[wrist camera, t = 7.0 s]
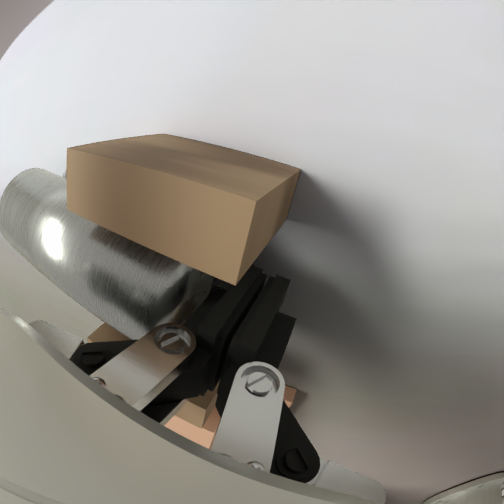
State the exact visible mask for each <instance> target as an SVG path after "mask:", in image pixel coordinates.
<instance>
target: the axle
mask: <svg viewBox="0 0 504 504" xmlns="http://www.w3.org/2000/svg"><path fill="white" fill-rule="evenodd" d="M0 230H1V233H2V235H3V236H4V238H5V239H6V240H7V241H8V242H9V243H10V244H11V245H12V246H13V247H14V248H15V249H16V250H17V251H18V252H19V253H20V254H21V255H22V256H23V257H24V258H25V259H26V260H27V261H28V262H29V263H30V264H32V265H33V266H34V267H35V268H36V269H37V270H38V271H39V272H41V273H42V274H43V275H44V276H45V277H46V278H48V279H49V280H50V281H51V282H52V283H53V284H55V285H56V286H57V287H58V288H60V289H61V290H62V291H63V292H65V293H66V294H67V295H68V296H70V297H71V298H72V299H73V300H75V301H76V302H77V303H79V304H80V305H81V306H83V307H84V308H85V309H87V310H88V311H89V312H91V313H92V314H94V315H95V316H96V317H98V318H99V319H101V320H102V321H104V322H105V323H106V324H108V325H109V326H111V327H112V328H114V329H115V330H117V331H118V332H120V333H121V334H123V335H124V336H126V337H127V338H129V339H131V340H137V339H140V338H142V337H143V336H144V335H146V334H147V333H148V332H150V331H151V330H152V329H154V328H155V327H157V326H159V325H161V324H165V323H176V324H180V325H183V324H184V323H185V322H186V321H187V320H188V319H189V318H190V316H191V315H192V314H193V313H194V312H195V311H196V310H197V308H198V307H199V306H200V305H201V304H202V303H203V302H204V301H205V299H206V298H207V297H208V295H209V293H210V290H211V287H212V284H213V281H214V277H213V276H211V275H209V274H206V273H204V272H202V271H199V270H197V269H195V268H192V267H190V266H188V265H185V264H183V263H181V262H179V261H176V260H174V259H172V258H169V257H167V256H165V255H163V254H160V253H158V252H156V251H154V250H152V249H149V248H147V247H145V246H143V245H141V244H138V243H136V242H134V241H132V240H130V239H127V238H125V237H123V236H121V235H119V234H117V233H115V232H112V231H110V230H108V229H106V228H104V227H102V226H100V225H98V224H96V223H94V222H92V221H89V220H87V219H85V218H83V217H81V216H79V215H77V214H75V213H73V212H71V211H69V210H67V188H66V178H63V177H61V176H59V175H56V174H54V173H51V172H49V171H46V170H44V169H40V168H32V169H28V170H25V171H23V172H21V173H20V174H18V175H17V176H16V177H14V179H13V180H12V181H11V182H10V183H9V184H8V186H7V187H6V189H5V191H4V193H3V195H2V197H1V200H0Z"/></svg>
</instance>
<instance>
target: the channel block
mask: <svg viewBox="0 0 504 504" xmlns="http://www.w3.org/2000/svg"><path fill="white" fill-rule="evenodd" d="M300 171H301V169H299V168H295V167H292V166H289V165H286V164H283V163H279V162H276V161H273V160H269V159H266V158H263V157H259V156H255V155H252V154H248V153H245V152H241V151H237V150H233V149H229V148H225V147H221V146H217V145H213V144H209V143H205V142H200V141H196V140H191V139H187V138H182V137H177V136H172V135H167V134H155V135H145V136H137V137H129V138H122V139H115V140H108V141H102V142H96V143H91V144H85V145H80V146H75V147H70V148H67V170H66V188H67V210H69V211H71V212H73V213H75V214H77V215H79V216H81V217H83V218H85V219H87V220H89V221H92V222H94V223H96V224H98V225H100V226H102V227H104V228H106V229H108V230H110V231H112V232H115V233H117V234H119V235H121V236H123V237H125V238H127V239H130V240H132V241H134V242H136V243H138V244H141V245H143V246H145V247H147V248H149V249H152V250H154V251H156V252H158V253H160V254H163V255H165V256H167V257H169V258H172V259H174V260H176V261H179V262H181V263H183V264H185V265H188V266H190V267H192V268H195V269H197V270H199V271H202V272H204V273H206V274H209V275H211V276H213V277H216V278H218V279H221V280H223V281H225V282H228V283H230V284H233V285H235V286H236V284H237V283H238V282H239V281H240V279H241V278H242V277H243V275H244V274H245V273H246V271H247V270H248V269H249V267H250V266H251V265H252V264H253V262H254V261H255V260H256V258H257V257H258V256H259V254H260V253H261V252H262V251H263V249H264V248H265V247H266V245H267V244H268V243H269V241H270V240H271V239H272V237H273V236H274V235H275V234H276V232H277V231H278V230H279V228H280V227H281V226H282V224H283V223H284V222H285V220H286V219H287V215H288V212H289V209H290V205H291V202H292V198H293V195H294V192H295V188H296V185H297V181H298V178H299V174H300ZM87 339H88V343H92V342H108V341H123V340H131V339H129V338H127V337H126V336H124V335H123V334H121V333H120V332H118V331H117V330H115V329H114V328H112V327H111V326H109V325H108V324H106V323H104V324H103V325H101V326H100V327H99V328H98V329H97V330H96V331H94V332H93V333H92V334H91V335H90V336H89V337H88V338H87ZM219 382H220V380H219ZM219 382H218V384H217V385H216V387H215V389H214V390H213V391H212V392H211V391H209V390H207V392H206V393H205V395H204V396H201V395H199V396H198V397H194V398H189V400H188V401H187V403H186V404H185V405H184V406H183V407H182V408H181V409H180V410H179V411H178V412H177V413H176V414H175V416H177V417H179V418H181V419H183V420H185V421H186V422H188V423H190V424H192V425H194V426H196V427H199V428H201V429H202V427H203V426H204V424H205V422H206V421H207V419H208V417H209V415H210V414H211V412H212V410H213V409H214V407H215V403H216V400H217V396H218V394H216V393H217V389H218V385H219Z"/></svg>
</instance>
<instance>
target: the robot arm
mask: <svg viewBox="0 0 504 504" xmlns="http://www.w3.org/2000/svg"><path fill="white" fill-rule="evenodd" d="M262 272H263V269H261V268H259V267H256V266H254V265H251V266H250V267H249V269H248V270H247V271H246V273H245V274H244V275H243V277H242V278H241V279H240V281H239V282H238V283H237V284H236V286H235V285H233V284H232V286H231V287H230V288H229V289H228V291H226V290H224V289H222V288H219V287H216V288H215V289H214V290H213V292H212V293H211V294H210V295H209V296H208V297H207V298H206V299H205V301H204V302H203V303H202V304H201V305H200V306H199V307H198V308H197V310H196V311H195V312H194V313H193V314H192V315H191V316H190V318H189V319H188V320H187V321H186V322H185V323H184V324H183V325H180V324H176V323H165V324H161V325H159V326H157V327H155V328H154V329H152V330H151V331H150V332H148V333H147V334H146V335H144V336H143V337H142V338H140V339H137V340H123V341H108V342H92V343H86V344H85V343H84V342H83V339H81V338H79V337H76V336H74V335H72V334H70V333H68V332H66V331H64V330H62V329H60V328H58V327H56V326H54V325H52V324H50V323H48V322H46V321H43V320H36V321H33V322H31V323H30V324H28V323H27V322H25V321H24V320H23V319H21V318H19V317H18V316H16V315H14V314H12V313H10V312H7V311H5V310H2V309H0V504H384V503H385V499H386V492H385V489H384V487H383V486H382V484H380V483H379V482H377V481H375V480H373V479H371V478H368V477H366V476H363V475H361V474H359V473H356V472H354V471H352V470H350V469H347V468H345V467H343V466H341V465H339V464H337V463H335V462H333V461H331V460H329V461H328V462H327V461H325V460H323V459H321V458H319V456H318V454H317V452H316V450H315V449H314V447H313V445H312V444H311V442H310V441H309V439H308V438H307V436H306V435H305V433H304V432H303V430H302V428H301V427H300V425H299V424H298V422H297V420H296V419H295V417H294V416H293V414H292V412H291V411H290V409H289V408H288V406H287V404H286V403H285V401H284V400H283V396H284V390H285V381H284V378H283V376H282V374H281V373H280V372H279V371H278V370H277V369H278V367H279V364H280V362H281V359H282V356H283V354H284V351H285V348H286V346H287V343H288V340H289V338H290V335H291V332H292V330H293V327H294V324H295V321H296V319H295V318H293V317H290V316H288V315H285V314H283V313H280V312H279V309H280V307H281V304H282V301H283V299H284V296H285V293H286V291H287V288H288V285H289V283H290V279H287V278H284V277H282V276H279V275H276V277H275V278H274V277H271V276H270V277H269V279H268V281H267V282H266V284H265V286H264V287H263V285H264V282H265V279H266V274H264V273H262ZM219 380H220V382H219ZM218 382H219V385H218V389H217V393H216V394H218V396H217V400H216V403H215V406H216V409H217V411H218V413H219V415H220V421H219V424H218V427H217V430H216V433H215V436H214V439H213V442H212V445H211V448H210V449H208V448H206V447H204V446H202V445H200V444H197V443H195V442H193V441H191V440H189V439H187V438H185V437H183V436H182V435H180V434H178V433H176V432H174V431H172V430H170V429H169V428H167V427H165V426H164V425H165V424H166V423H167V422H168V421H169V420H170V419H171V418H172V417H173V416H174V415H175V414H176V413H177V412H178V411H179V410H180V409H181V408H182V407H183V406H184V405H185V404H186V403H187V401H188V400H189V398H194V397H198V396H199V395H201V396H204V395H205V393H206V392H207V390H209V391H211V392H212V391H213V390H214V389H215V387H216V385H217V384H218ZM503 487H504V472H502V473H497V474H493V475H489V476H486V477H483V478H480V479H476V480H474V481H471V482H468V483H465V484H462V485H460V486H457V487H454V488H452V489H449V490H447V491H444V492H442V493H440V494H437V495H435V496H433V497H431V498H429V499H428V500H426V501H425V502H424V503H423V504H503V503H504V496H502V488H503Z"/></svg>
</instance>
